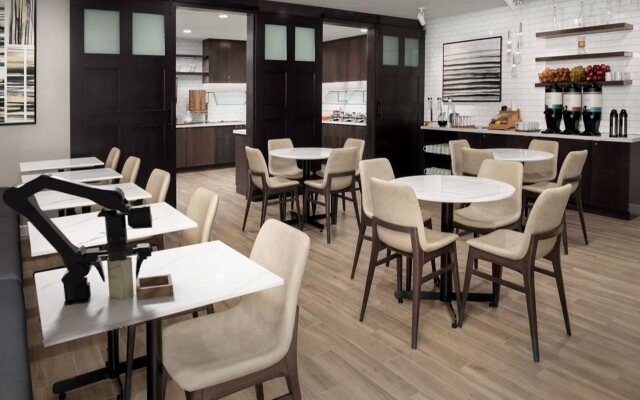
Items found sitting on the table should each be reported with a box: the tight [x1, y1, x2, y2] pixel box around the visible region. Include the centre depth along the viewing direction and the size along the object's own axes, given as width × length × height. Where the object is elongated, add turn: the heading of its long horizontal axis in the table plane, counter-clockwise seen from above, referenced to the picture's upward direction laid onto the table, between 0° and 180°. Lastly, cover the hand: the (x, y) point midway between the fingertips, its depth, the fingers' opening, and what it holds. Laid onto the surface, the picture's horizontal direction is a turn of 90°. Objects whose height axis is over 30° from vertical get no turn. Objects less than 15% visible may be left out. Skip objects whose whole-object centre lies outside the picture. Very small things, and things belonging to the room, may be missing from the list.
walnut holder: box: [135, 273, 174, 301], centre depth 163 cm, size 11×11×3 cm
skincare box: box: [106, 256, 135, 300], centre depth 159 cm, size 6×4×12 cm
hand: (120, 279), depth 159 cm, fingers open, 9 cm apart
